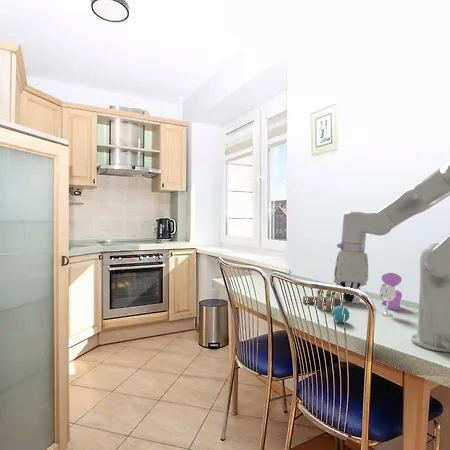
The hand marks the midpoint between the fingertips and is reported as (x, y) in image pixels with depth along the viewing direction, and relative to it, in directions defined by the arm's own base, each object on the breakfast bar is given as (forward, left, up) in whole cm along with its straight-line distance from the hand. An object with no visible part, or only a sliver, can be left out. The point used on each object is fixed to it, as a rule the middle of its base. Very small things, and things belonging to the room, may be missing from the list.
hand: (348, 301), depth 114 cm
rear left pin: (+28, +2, -10) cm, 30 cm away
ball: (+9, -1, -7) cm, 12 cm away
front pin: (+24, -1, -10) cm, 26 cm away
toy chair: (+35, -32, -10) cm, 49 cm away
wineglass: (+22, -24, -10) cm, 34 cm away
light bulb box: (+42, -15, -10) cm, 46 cm away
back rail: (+35, -1, -10) cm, 37 cm away
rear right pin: (+28, -3, -10) cm, 30 cm away
